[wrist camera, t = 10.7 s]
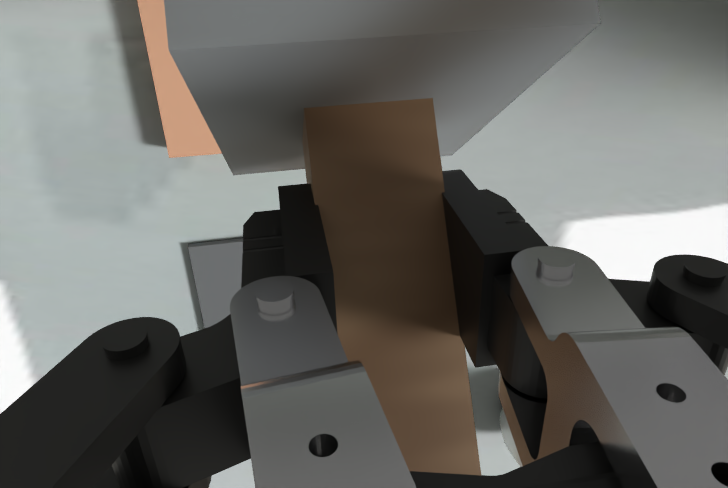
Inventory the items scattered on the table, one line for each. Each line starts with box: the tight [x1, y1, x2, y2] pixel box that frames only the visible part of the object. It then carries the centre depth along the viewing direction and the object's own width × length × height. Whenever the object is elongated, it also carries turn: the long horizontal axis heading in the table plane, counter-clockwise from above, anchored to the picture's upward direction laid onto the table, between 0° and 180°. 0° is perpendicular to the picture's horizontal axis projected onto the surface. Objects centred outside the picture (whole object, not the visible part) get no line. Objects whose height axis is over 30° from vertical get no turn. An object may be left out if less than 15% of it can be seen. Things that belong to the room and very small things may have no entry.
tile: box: [137, 0, 222, 158], centre depth 27 cm, size 2×9×8 cm
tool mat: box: [188, 238, 243, 328], centre depth 35 cm, size 10×10×1 cm
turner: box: [164, 0, 601, 475], centre depth 12 cm, size 6×8×9 cm
